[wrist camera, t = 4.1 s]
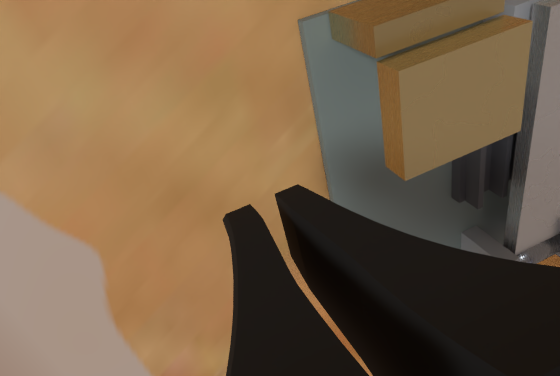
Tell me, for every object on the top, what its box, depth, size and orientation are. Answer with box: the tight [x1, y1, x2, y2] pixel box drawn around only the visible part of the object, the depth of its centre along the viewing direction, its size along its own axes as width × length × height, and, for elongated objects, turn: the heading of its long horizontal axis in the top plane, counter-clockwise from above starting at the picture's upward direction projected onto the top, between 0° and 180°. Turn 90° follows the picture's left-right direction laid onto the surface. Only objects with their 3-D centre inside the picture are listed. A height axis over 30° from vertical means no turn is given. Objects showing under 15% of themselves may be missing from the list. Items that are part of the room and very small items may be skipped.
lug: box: [328, 0, 533, 181], centre depth 16 cm, size 5×5×4 cm
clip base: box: [298, 0, 560, 261], centre depth 22 cm, size 17×18×4 cm
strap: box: [503, 0, 560, 264], centre depth 21 cm, size 14×3×2 cm, turn 12°
